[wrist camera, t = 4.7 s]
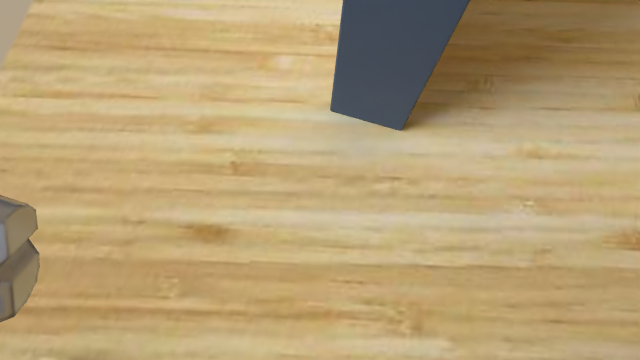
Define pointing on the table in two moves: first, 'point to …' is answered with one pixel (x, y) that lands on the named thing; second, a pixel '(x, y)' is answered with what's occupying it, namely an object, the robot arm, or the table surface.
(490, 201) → the table surface
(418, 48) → the book
